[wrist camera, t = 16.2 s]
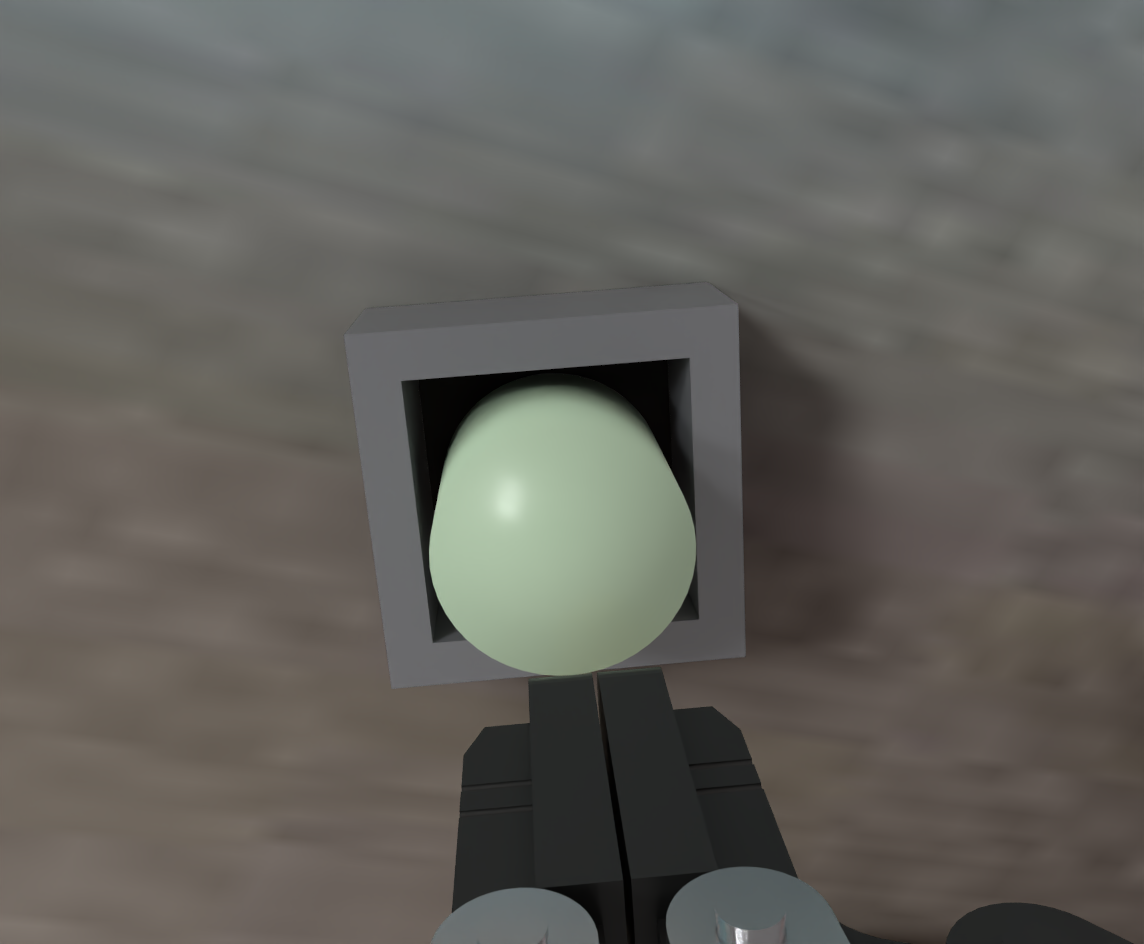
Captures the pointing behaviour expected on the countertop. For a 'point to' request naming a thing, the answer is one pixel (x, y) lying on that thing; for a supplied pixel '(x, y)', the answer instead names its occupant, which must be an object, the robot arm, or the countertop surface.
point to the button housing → (536, 342)
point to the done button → (559, 528)
